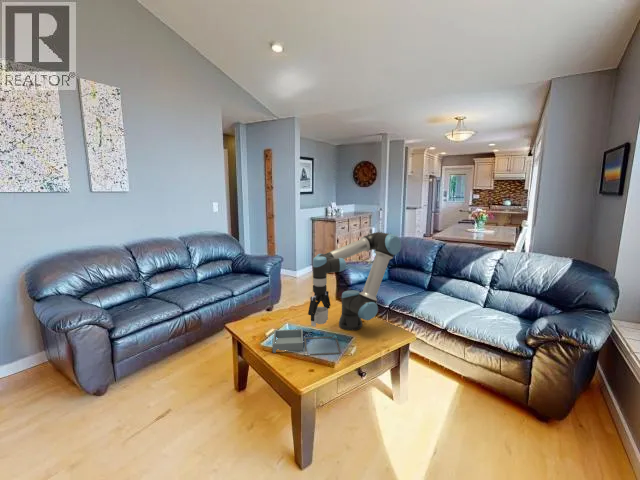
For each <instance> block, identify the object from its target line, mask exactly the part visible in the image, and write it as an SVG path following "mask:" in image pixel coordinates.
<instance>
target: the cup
mask: <svg viewBox="0 0 640 480" xmlns="http://www.w3.org/2000/svg"><path fill="white" fill-rule="evenodd" d="M327 314H328V315H329V308H328V309H327V308H326V307H324V306H318V307H317V310H316V313H315V315H316V325H324V324H326V323H327V321H328V320H327Z"/></svg>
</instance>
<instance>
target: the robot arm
mask: <svg viewBox="0 0 640 480" xmlns="http://www.w3.org/2000/svg"><path fill="white" fill-rule="evenodd" d="M401 248H402V242H401V239H400V237H399V236H398V235H395V234H392V233H387V232H381V231H377V232H373V233H369V234H366V235H364V236H362V237H360V239H358V240H356V241H354V242H351V243H348V244H346V245H344V246H341V247H339V248H336V249H333V250H331V251H329V252H326V253H318V254H316V256H315V257H313V259H312V284H313V285H312V292H313V293H314V295H313V296H310V297H309V298H310V300H309V301H310V302H309V307H308V312H307V315H308V316H310V325H311V326H312V327H314V328H316V327H317V323H316V315H315V313H316V310H317V307H319V304H320V303H322V306H323V307H326V308H327V309H328V310H329V309H331V305H332V304H331V301H330V296H329V291H328V290H327V289H328V288H327V284H328V283H327V280H328V279H327V274H331V273H340V272H344V271H345V270H346V268H347V262H346V259H348V258H350V257H353V256H355V255H358V254H360V253H363V252H369V251H374V253H375V257H374V259H373V262H372V265H371V267H370V271H369V273H368V276H367V279H366V281H365V284H364V287H363V289H362V291H361V292H360V291H359V290H344V291H343V292H342V293H341V315H340V317H339V321H338V326H339V327H340V329H343V330H346V331H357V330H361V328H362V327H363V321H362V320H365V321H371V320H372V319H373V318H375V317H376V316H377V314H378V312H379V307H378V304H377V302H378V299H377V294H378V292H379V289H380V286H381V283H382V281H383V278H384V276H385V273H386V270H387V267H388V265H389V263H390V260H393V258H394V256H395V255H397V254H399V252H400V251H401ZM328 320H329V313H328V314H327V321H328Z"/></svg>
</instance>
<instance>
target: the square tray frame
mask: <svg viewBox="0 0 640 480" xmlns="http://www.w3.org/2000/svg"><path fill="white" fill-rule="evenodd" d="M332 337H333V336H315V337H313V336H312V337H303V345H304V351H303V355H304V354H310V355H309V356H322V355H323V356H325V355H341V354H342V351H341V346H340V344H339V340H338V338H337V339H336V338H334V340H335V342H336V346H337V350H338V352H323V353H322V352H321V353H320V352H318V353H316V352H315V353H309V352H308V351H307V349H308V348H307V340H318V339H333V338H332ZM340 353H341V354H340Z"/></svg>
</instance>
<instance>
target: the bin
mask: <svg viewBox="0 0 640 480" xmlns="http://www.w3.org/2000/svg"><path fill="white" fill-rule="evenodd" d="M273 332H274V333H273V337H272V353H273V354H275V353H276V350H277V349H279V350H289V351H302V352H304V336H303V335H304V334H303V333H304V332H303V329H302V328H301V329H298V328H297V329H276V330H274V331H273ZM276 337H277V338H278V339H277V340H276ZM275 342H276V343H275Z"/></svg>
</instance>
